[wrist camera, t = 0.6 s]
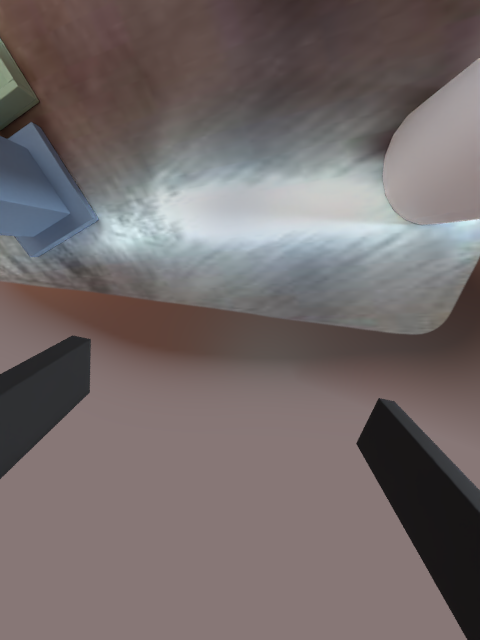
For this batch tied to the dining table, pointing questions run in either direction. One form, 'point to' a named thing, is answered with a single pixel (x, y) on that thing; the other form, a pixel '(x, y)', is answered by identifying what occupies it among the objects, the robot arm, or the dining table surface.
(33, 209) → the stand
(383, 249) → the dining table surface
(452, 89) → the canister
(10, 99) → the tray
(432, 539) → the robot arm
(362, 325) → the dining table surface
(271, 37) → the dining table surface
